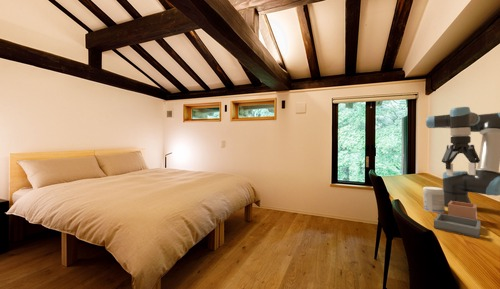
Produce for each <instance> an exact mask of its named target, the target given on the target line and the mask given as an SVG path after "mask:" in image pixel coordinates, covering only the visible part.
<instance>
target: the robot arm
mask: <svg viewBox="0 0 500 289" xmlns="http://www.w3.org/2000/svg"><path fill="white" fill-rule="evenodd" d="M425 125H426V128H428V129H450V136H451V137H450V143H451V144H447V145H446V150H445V151H444V154H443V157H442V159H441V162H442V163H443V164H445V170H446V171H444V172H443V173H442V177H441V178H442V189H443V191H444V205H445V207H447V208H448V203H449V202H450V201H457V202H464V203H471V204H472V202H471V199H470V197H469V193H471V194H480V195H486V196H494V197H495V196H496V197H497V196H500V112H492V113H483V114H478V113H475V112H472V111H471V109H470V107H469V106H458V107H453V108H451V109H450V111H449V114H443V115H432V116H428V117H426V119H425ZM471 133H479V135H481V143H480V150H479V155H478V153H477V151H476V149H475V144H470V143H471V142H472V141H471V140H472V138H471V137H472V136H471ZM459 154H463V155H464V156H465V157H466V159H467V160H468V161H469V162H468V171H465V170H454V163H453V162H454V160H455V159H456V158H457V156H458V155H459Z"/></svg>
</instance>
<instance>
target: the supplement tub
mask: <svg viewBox="0 0 500 289" xmlns="http://www.w3.org/2000/svg"><path fill="white" fill-rule="evenodd" d="M422 195H423V196H422V200H423V210H424V211H427V212H431V213H436V214H439V213H441V214H445V213H446V208H445V207H446V206H445V205H444V191H443V187H436V186H435V187H434V186H424V187H423V188H422Z"/></svg>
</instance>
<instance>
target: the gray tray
mask: <svg viewBox="0 0 500 289" xmlns="http://www.w3.org/2000/svg"><path fill="white" fill-rule="evenodd" d="M481 223H482V222H481V220H478V219H477V220H474V219H468V218H463V217H457V216H452V215H448V214H446V213H437V215H436V216H435V218H434V219H433V229H436V230H441V231H445V232H449V233H455V234H458V233H459V235H462V234H464V235H463V236H466V237H472V238H475V239H480V235H481V234H480V233H481V226H482V224H481Z"/></svg>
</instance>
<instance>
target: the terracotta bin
mask: <svg viewBox="0 0 500 289" xmlns="http://www.w3.org/2000/svg"><path fill="white" fill-rule="evenodd" d="M477 206H478V205H477V204H475V203H472V202H471V203H464V202H457V201H450V202H449V203H448V207H447V212H448V213H447V215H452V216H457V217H463V218H468V219H474V220H478V211H477V210H478V207H477Z"/></svg>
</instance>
